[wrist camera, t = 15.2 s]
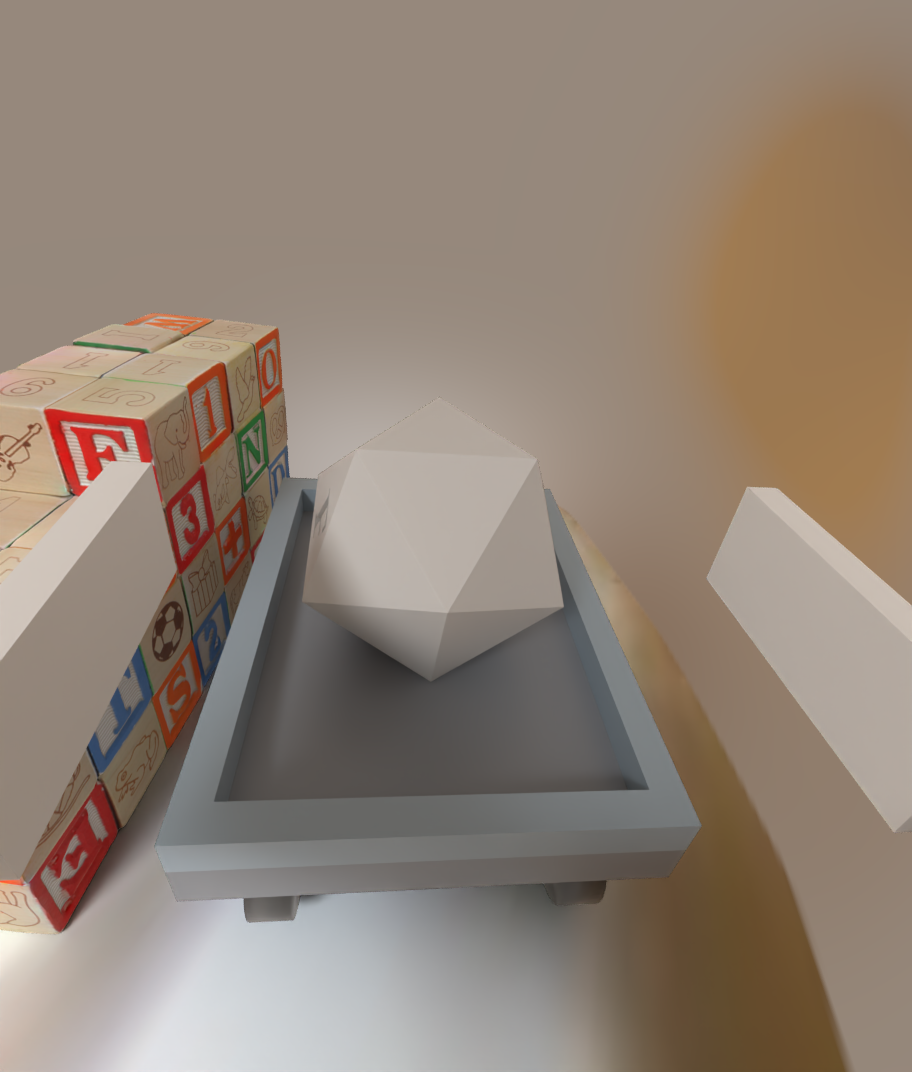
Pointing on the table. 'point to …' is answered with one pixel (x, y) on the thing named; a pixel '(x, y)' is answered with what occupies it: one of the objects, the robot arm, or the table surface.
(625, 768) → the trolley
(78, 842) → the stack of blocks
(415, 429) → the die
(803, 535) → the robot arm
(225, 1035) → the table surface
